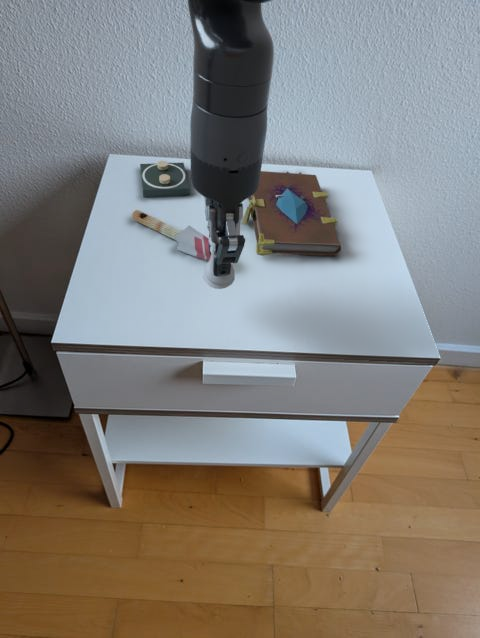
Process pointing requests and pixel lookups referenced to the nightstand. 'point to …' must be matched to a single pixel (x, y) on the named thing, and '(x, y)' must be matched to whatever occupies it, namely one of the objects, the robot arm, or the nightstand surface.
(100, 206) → the nightstand surface
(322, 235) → the book
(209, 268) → the rook chess piece
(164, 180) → the eye pad
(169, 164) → the green square board
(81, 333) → the nightstand surface
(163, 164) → the eye pad
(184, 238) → the grey trowel
